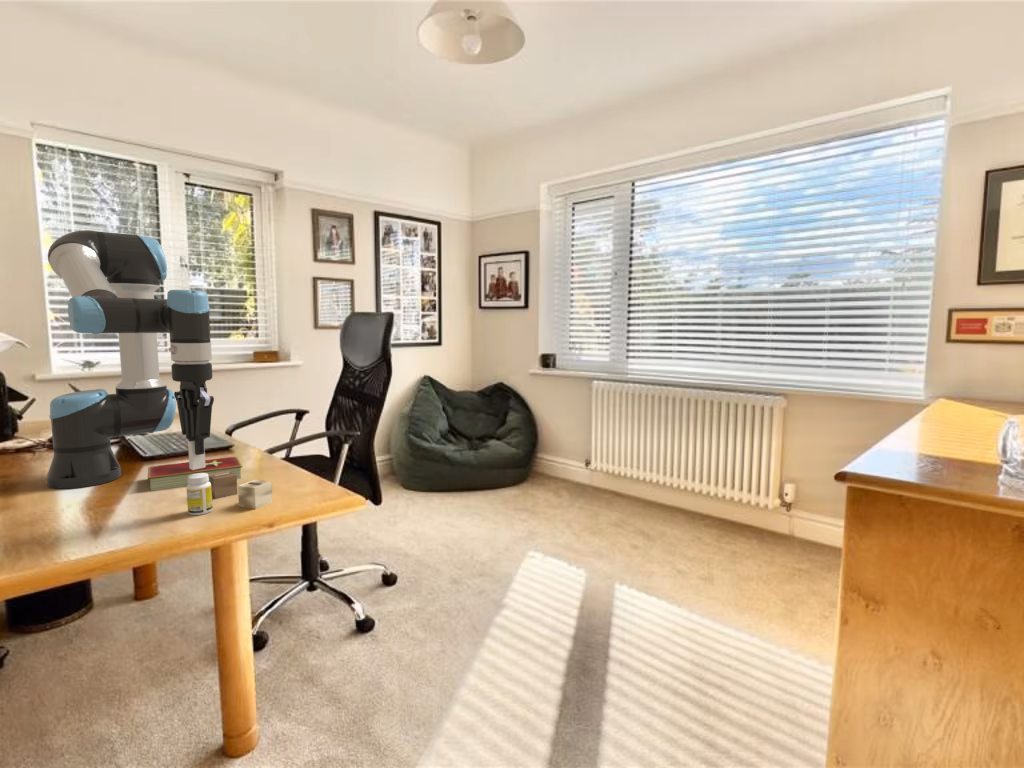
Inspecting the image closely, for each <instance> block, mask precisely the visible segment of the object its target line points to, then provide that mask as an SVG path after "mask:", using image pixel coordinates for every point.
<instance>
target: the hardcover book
mask: <svg viewBox="0 0 1024 768" xmlns="http://www.w3.org/2000/svg"><path fill="white" fill-rule="evenodd" d="M205 464H206V467H205V468H200V469H195V470H191V469H190V467H189V461H187V462H186V461H185V462H180V463H179V462H177V463H170V464H163V465H152V466H151V465H150V466H147V467H148V468H147V469H148V470H147V480H149V484H150V491H151V492H153V491H159V490H167V489H173V488H182V487H187V485H188V484H189V483H188V476H189V475H192V474H197V473H207V474H214V473H219V472H225V471H231V472H233V473H234V474H236V475H237V480H239V479H242V472H241V471H242V469H241V468H243V464H242V463H241V462H240V460H239V458H238V456H229V457H228V456H227V457H220V458H213V459H205Z"/></svg>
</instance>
